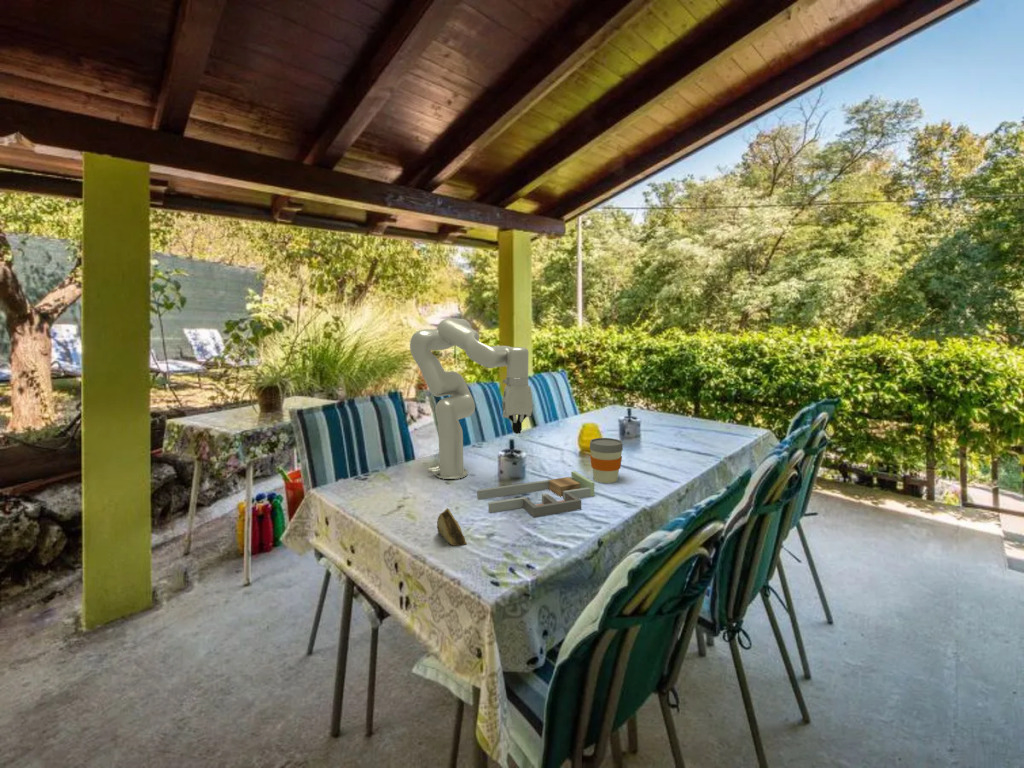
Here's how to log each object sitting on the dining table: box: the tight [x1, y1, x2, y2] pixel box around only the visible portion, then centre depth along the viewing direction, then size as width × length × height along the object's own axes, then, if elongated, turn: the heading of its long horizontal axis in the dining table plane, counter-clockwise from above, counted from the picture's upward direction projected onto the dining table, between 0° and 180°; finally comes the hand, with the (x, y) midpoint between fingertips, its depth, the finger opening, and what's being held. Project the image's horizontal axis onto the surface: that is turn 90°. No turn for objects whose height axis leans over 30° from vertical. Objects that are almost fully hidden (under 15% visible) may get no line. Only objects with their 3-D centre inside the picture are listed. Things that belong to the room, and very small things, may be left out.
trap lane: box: [476, 470, 595, 518], centre depth 161 cm, size 38×22×5 cm, turn 111°
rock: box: [436, 507, 467, 546], centre depth 134 cm, size 11×9×10 cm
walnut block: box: [548, 476, 580, 498], centre depth 170 cm, size 8×8×4 cm
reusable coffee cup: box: [589, 437, 624, 484], centre depth 183 cm, size 13×13×15 cm
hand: (516, 432), depth 170 cm, fingers closed
